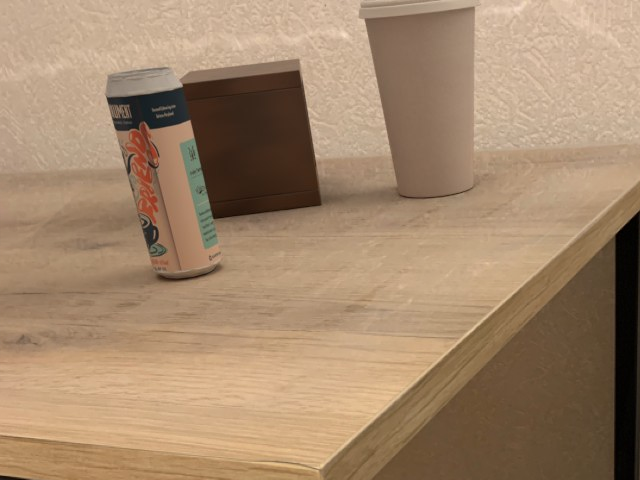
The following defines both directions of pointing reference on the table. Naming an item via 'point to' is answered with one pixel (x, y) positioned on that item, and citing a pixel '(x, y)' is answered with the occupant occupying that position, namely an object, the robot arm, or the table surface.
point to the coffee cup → (426, 90)
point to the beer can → (164, 170)
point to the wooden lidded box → (253, 137)
